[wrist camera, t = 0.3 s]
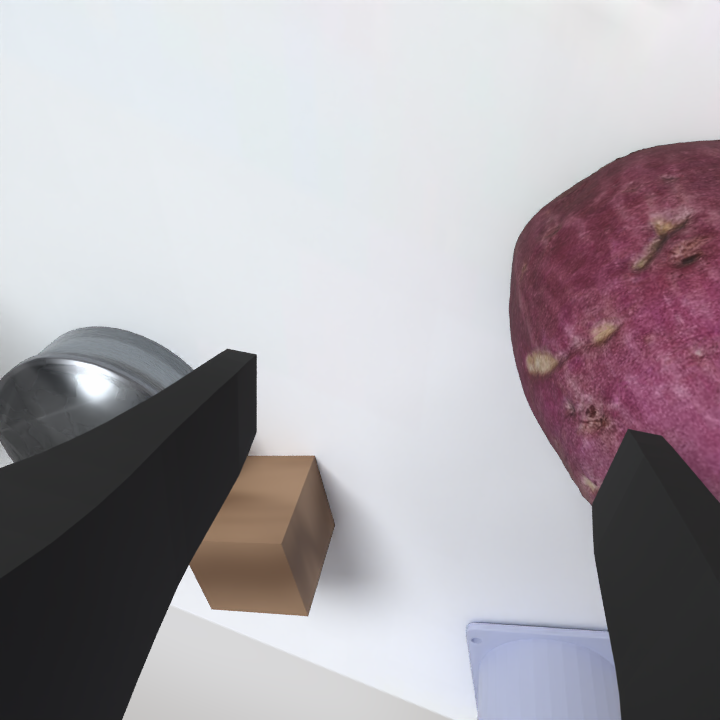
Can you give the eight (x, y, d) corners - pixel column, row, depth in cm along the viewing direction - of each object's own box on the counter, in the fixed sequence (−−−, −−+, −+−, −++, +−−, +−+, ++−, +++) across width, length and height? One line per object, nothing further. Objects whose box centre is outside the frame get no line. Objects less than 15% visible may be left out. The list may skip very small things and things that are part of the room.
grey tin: (254, 483, 29) (231, 532, 26) (90, 482, 31) (55, 526, 29) (189, 312, 24) (154, 353, 21) (1, 327, 26) (-51, 364, 24)
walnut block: (335, 524, 29) (307, 616, 25) (250, 521, 30) (211, 609, 26) (314, 454, 27) (281, 543, 22) (224, 455, 28) (176, 539, 24)
